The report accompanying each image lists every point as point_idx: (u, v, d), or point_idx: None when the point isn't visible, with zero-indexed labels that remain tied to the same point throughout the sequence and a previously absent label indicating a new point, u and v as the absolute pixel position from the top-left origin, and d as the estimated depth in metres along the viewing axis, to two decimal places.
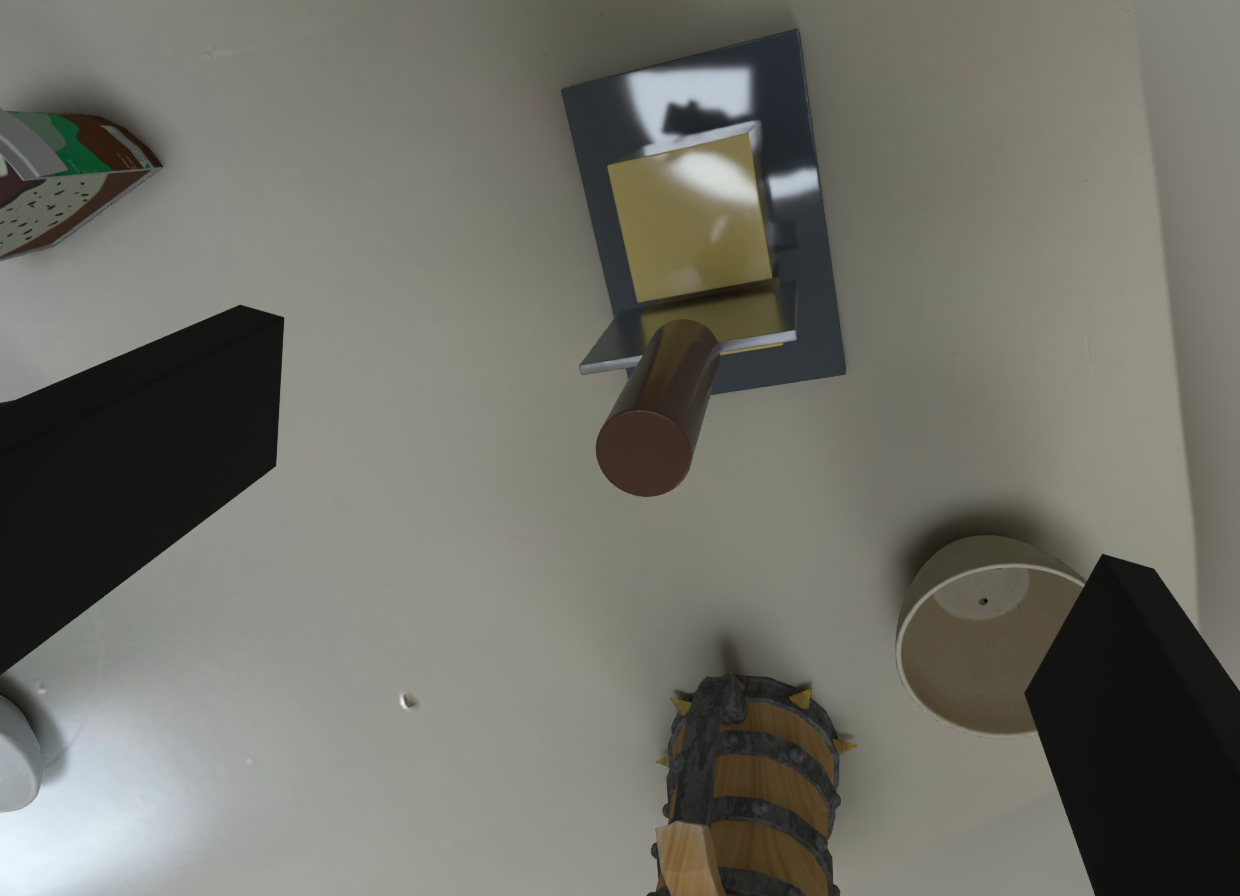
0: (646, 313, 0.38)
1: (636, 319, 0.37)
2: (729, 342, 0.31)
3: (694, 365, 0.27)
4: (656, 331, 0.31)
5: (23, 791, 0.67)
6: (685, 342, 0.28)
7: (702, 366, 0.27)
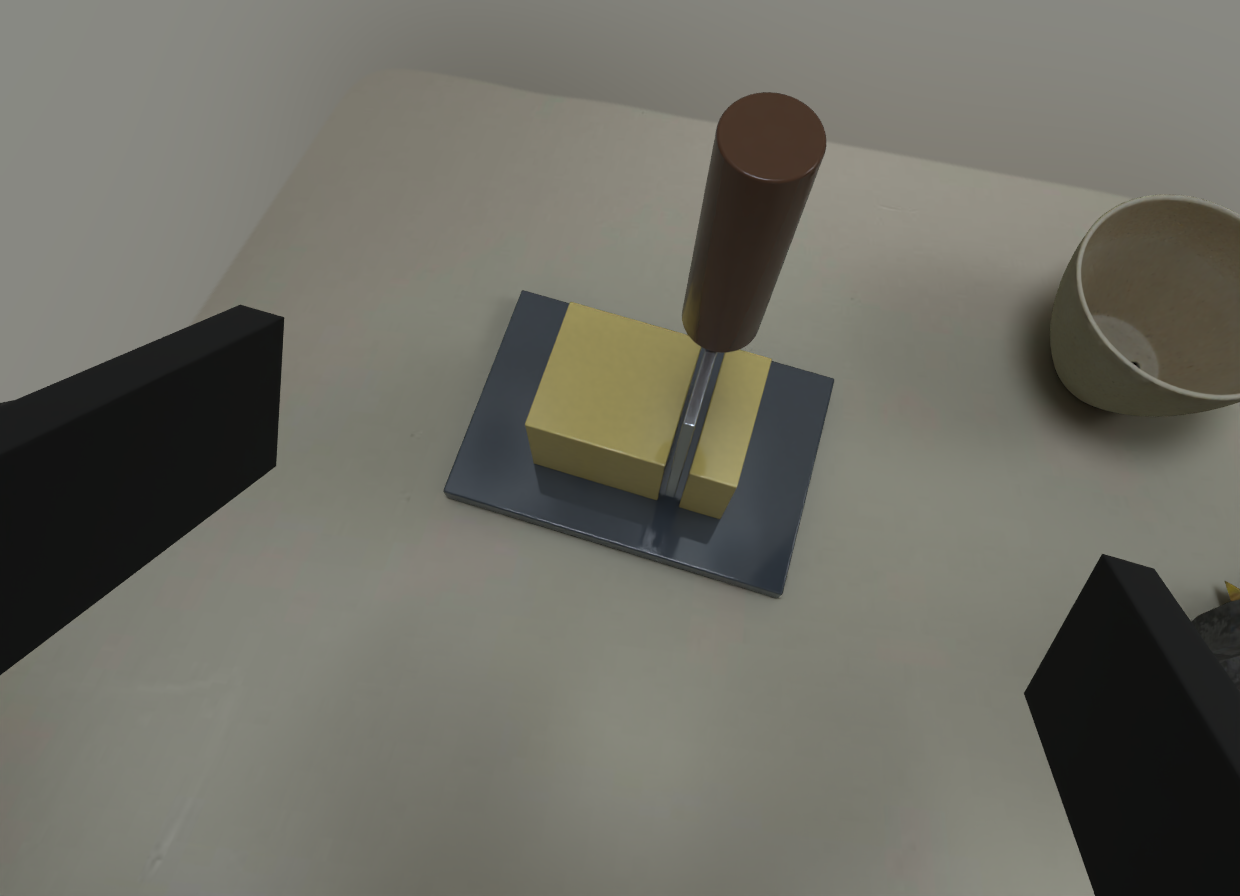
0: None
1: None
2: None
3: None
4: (685, 326, 0.28)
5: None
6: None
7: None
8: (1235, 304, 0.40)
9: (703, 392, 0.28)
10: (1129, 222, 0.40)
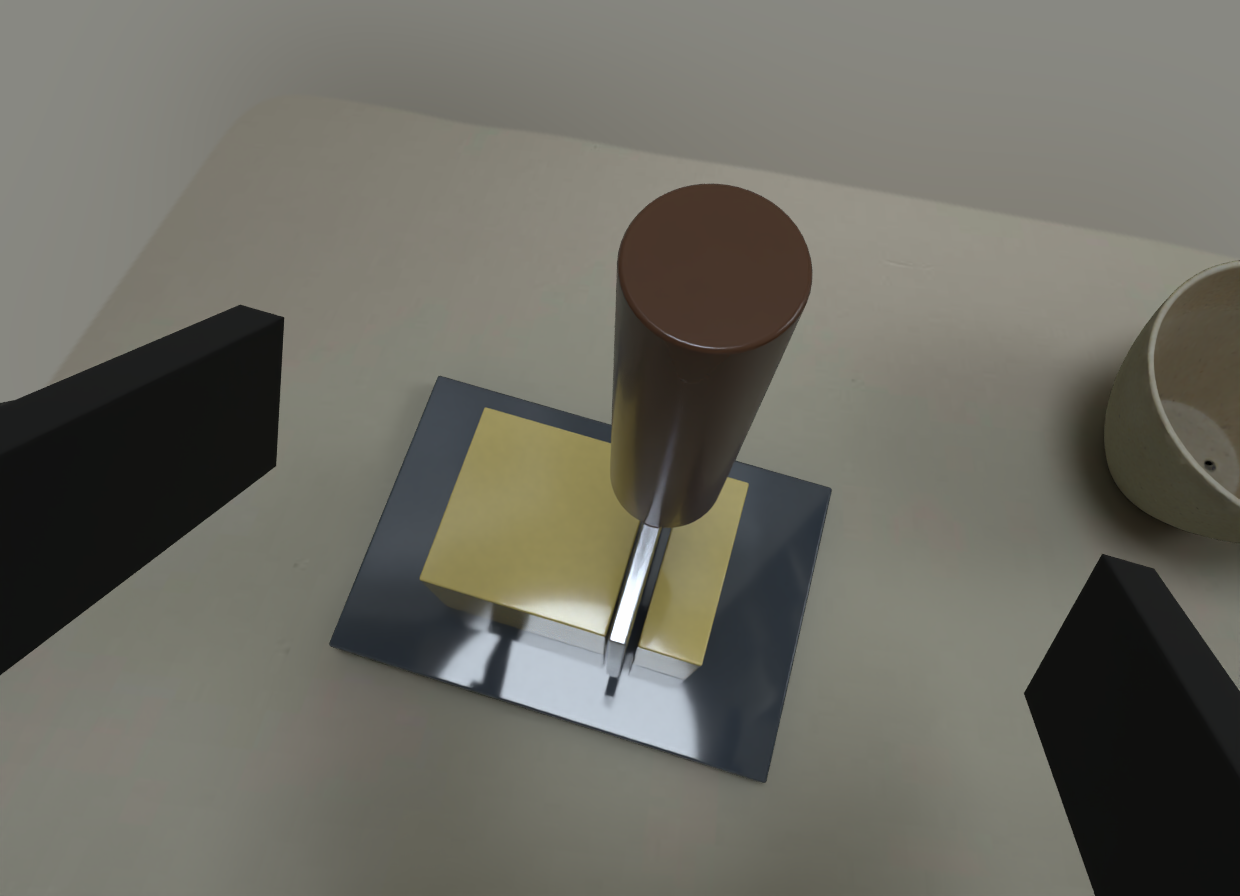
0: None
1: None
2: None
3: None
4: (613, 489, 0.20)
5: None
6: None
7: None
8: None
9: (639, 590, 0.19)
10: (1208, 292, 0.31)
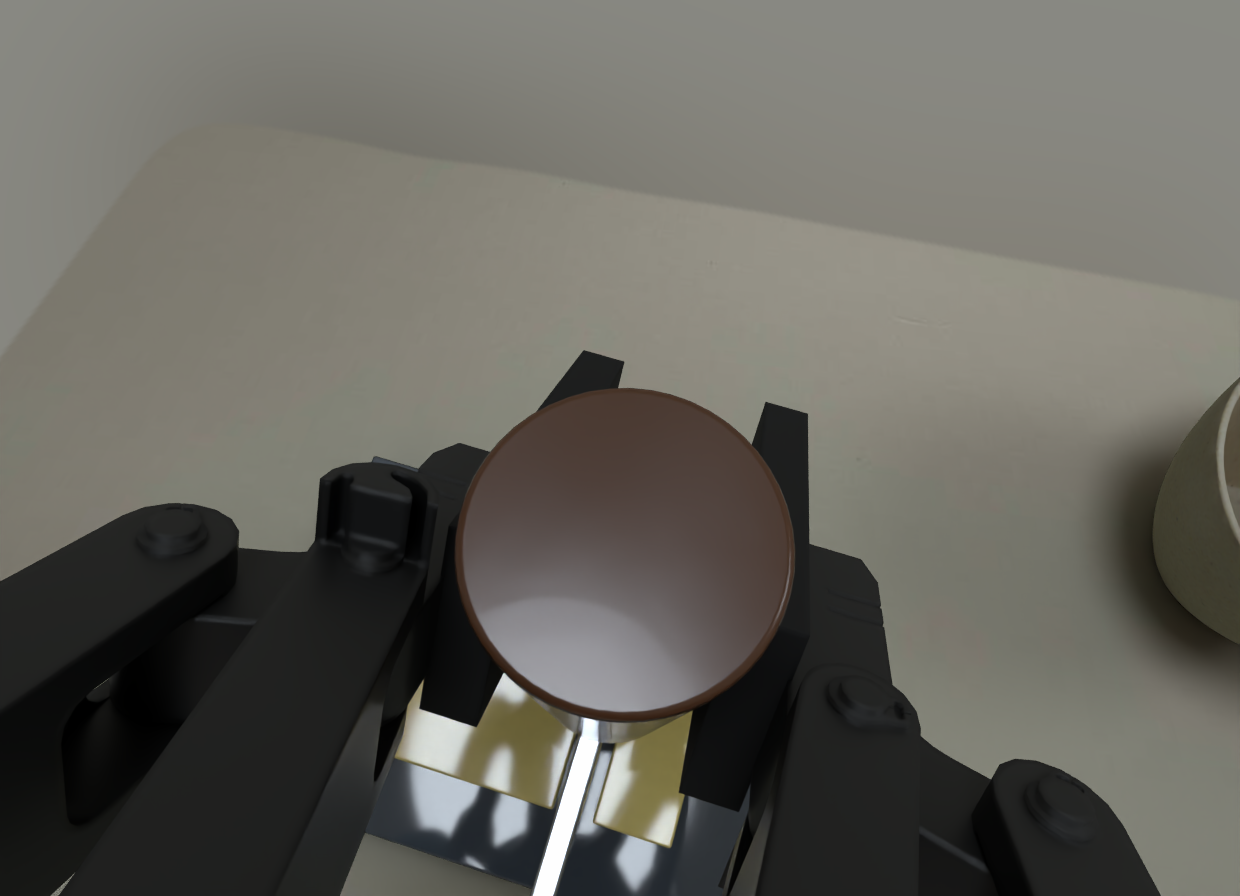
0: None
1: None
2: None
3: None
4: None
5: None
6: None
7: None
8: None
9: (571, 834, 0.14)
10: None
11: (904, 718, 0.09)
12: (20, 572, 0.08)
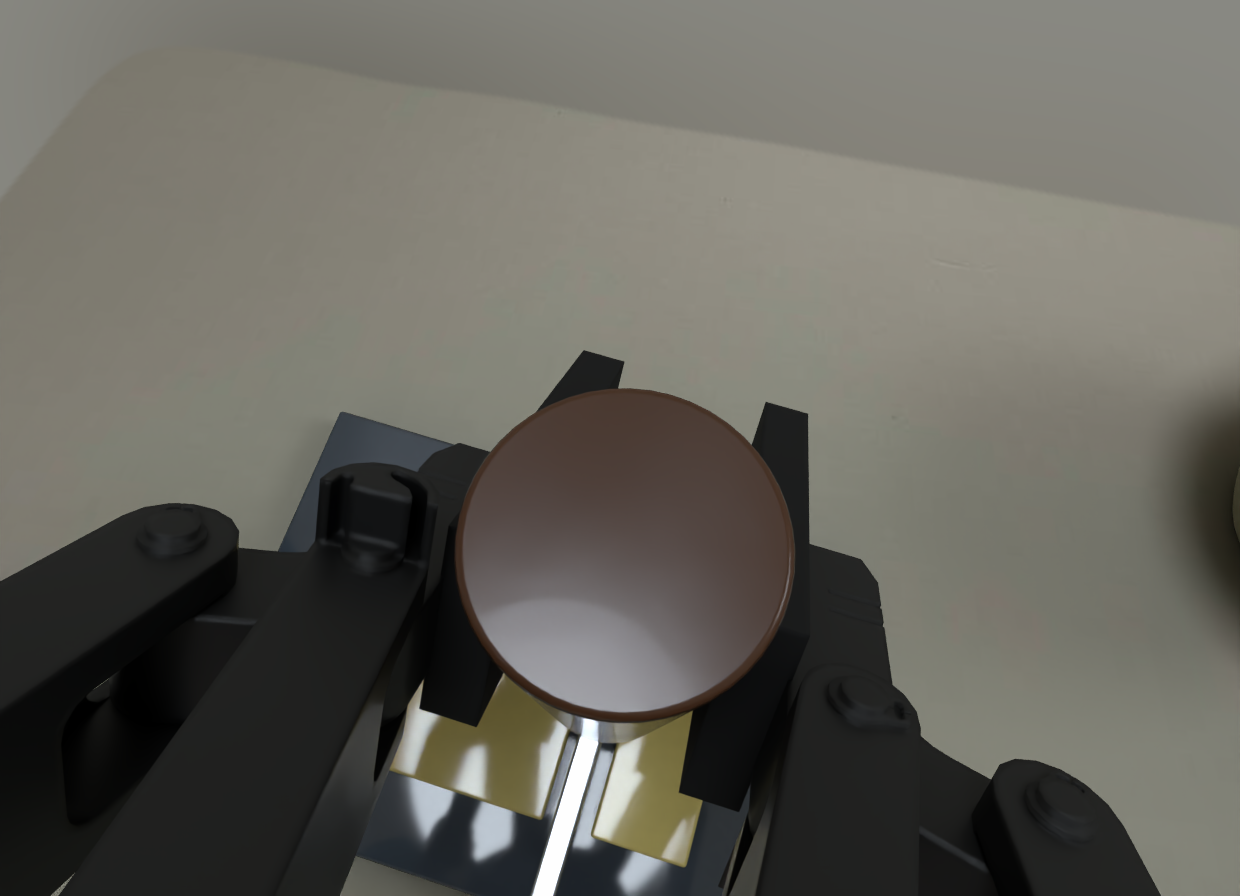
0: None
1: None
2: None
3: None
4: None
5: None
6: None
7: None
8: None
9: (570, 834, 0.14)
10: None
11: (904, 718, 0.09)
12: (20, 572, 0.08)
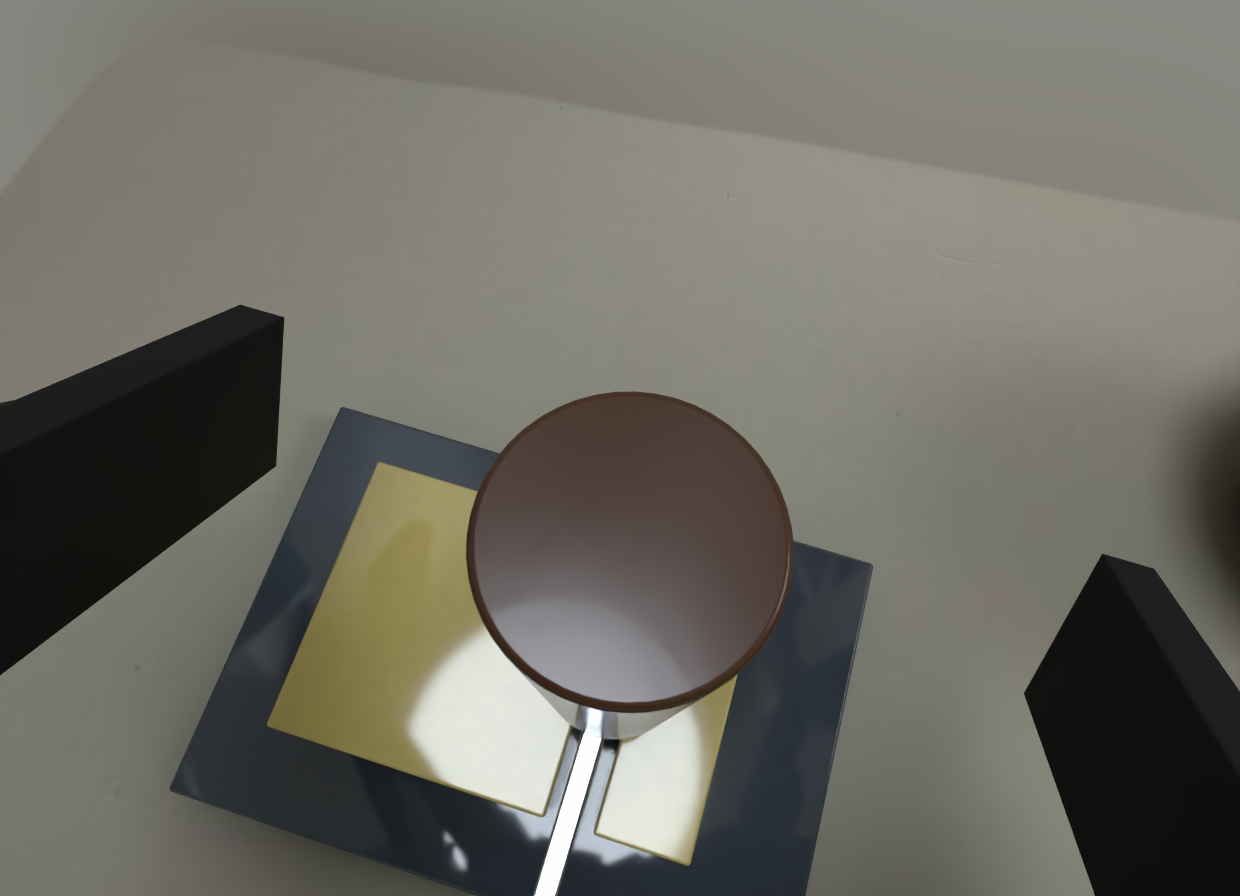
0: None
1: None
2: None
3: None
4: None
5: None
6: None
7: None
8: None
9: (574, 828, 0.14)
10: None
11: None
12: None
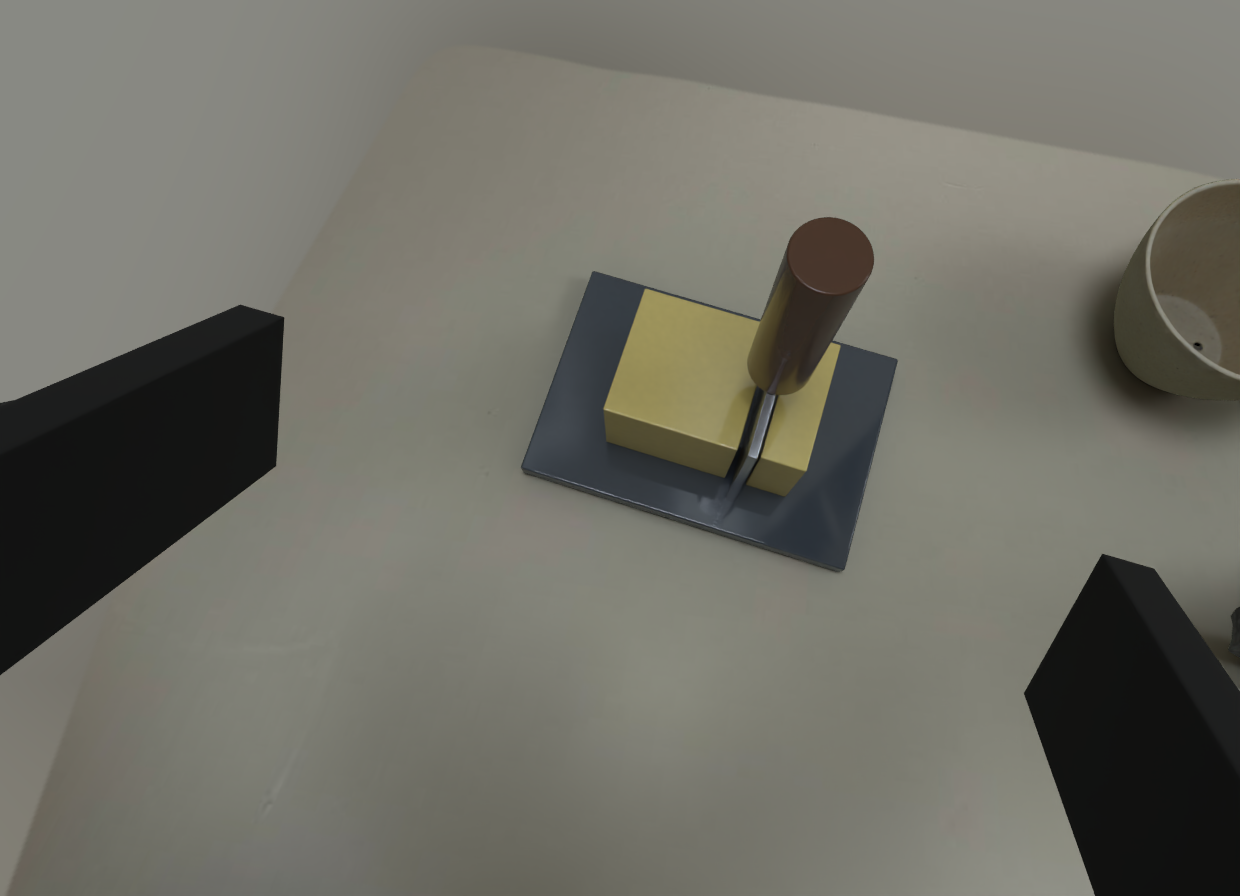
0: (737, 462, 0.40)
1: (737, 464, 0.39)
2: None
3: None
4: (749, 373, 0.34)
5: None
6: None
7: None
8: None
9: (764, 429, 0.34)
10: (1200, 206, 0.40)
11: None
12: None
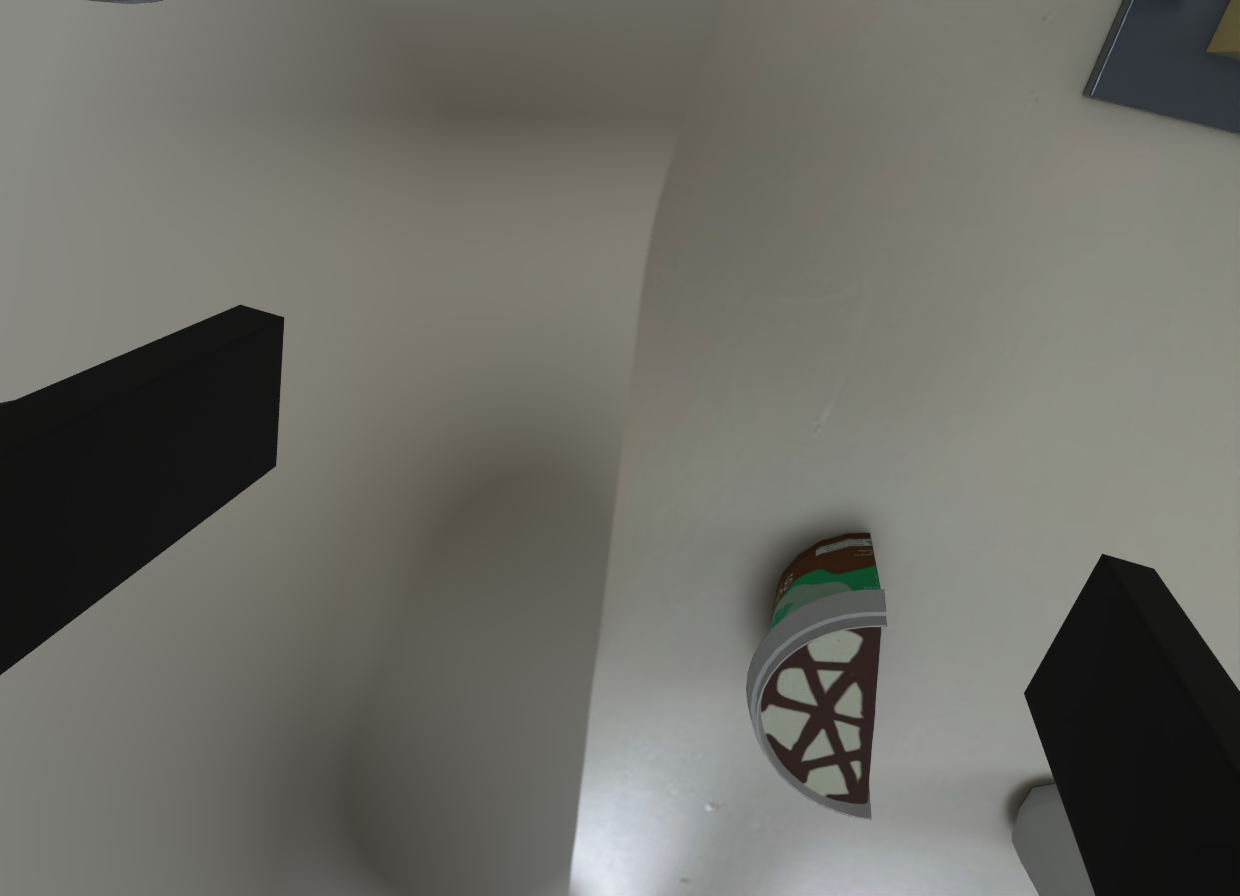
0: None
1: None
2: None
3: None
4: None
5: None
6: None
7: None
8: None
9: None
10: None
11: None
12: None
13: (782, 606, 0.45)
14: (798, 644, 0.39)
